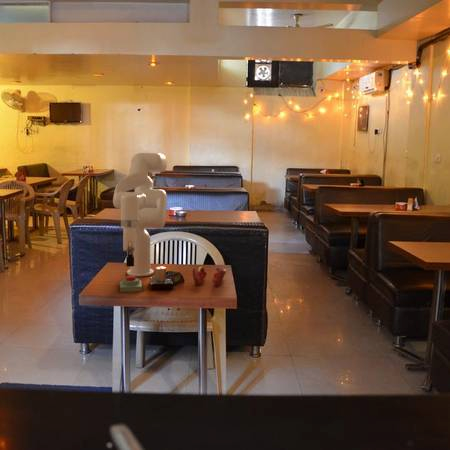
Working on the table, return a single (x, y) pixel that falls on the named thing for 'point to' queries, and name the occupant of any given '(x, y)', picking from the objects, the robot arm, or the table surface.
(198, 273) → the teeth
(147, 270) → the robot arm
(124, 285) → the button base
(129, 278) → the lid button
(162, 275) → the dial
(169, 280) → the dial panel
